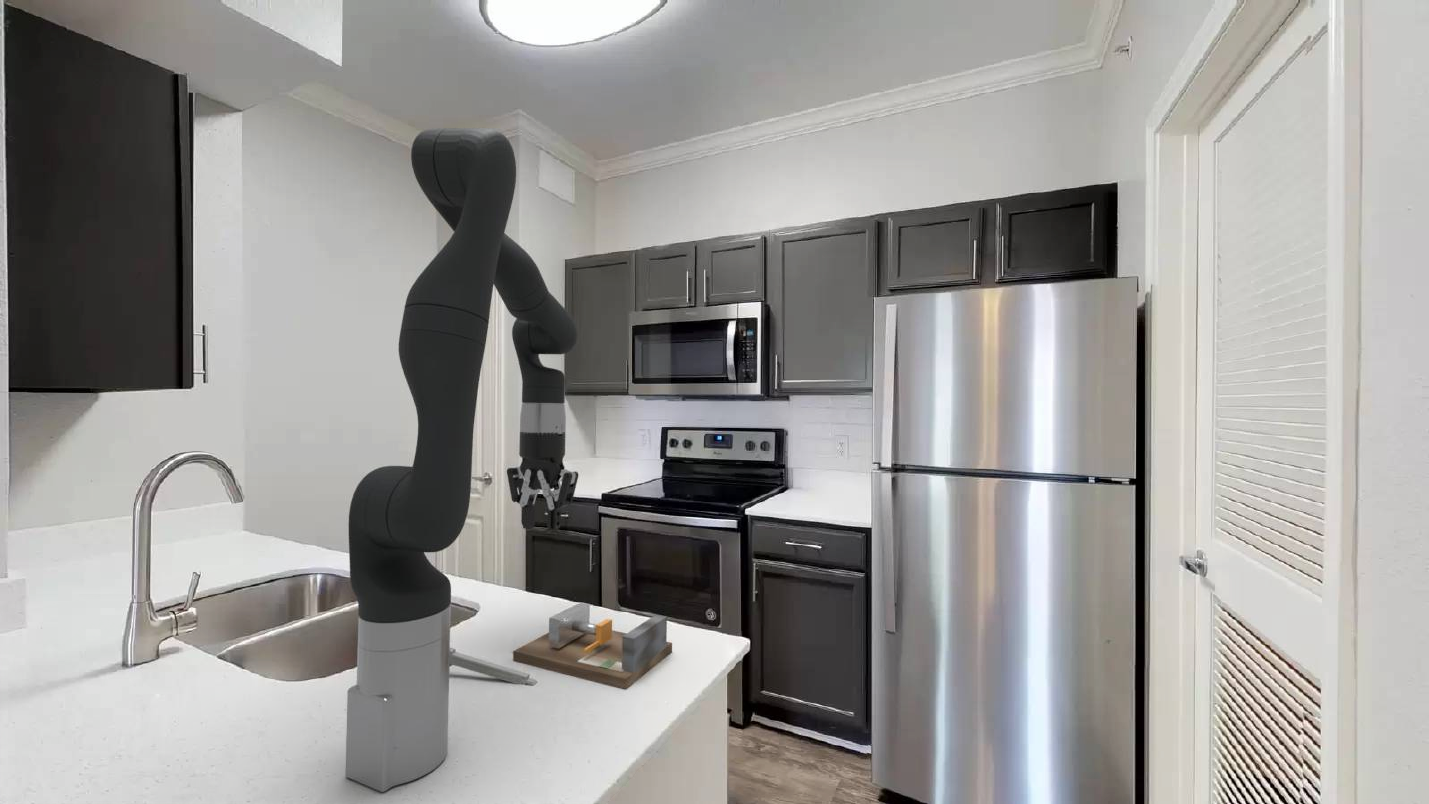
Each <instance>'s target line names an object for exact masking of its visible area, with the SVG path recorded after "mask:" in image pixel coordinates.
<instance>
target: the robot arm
mask: <svg viewBox="0 0 1429 804" xmlns="http://www.w3.org/2000/svg"><path fill="white" fill-rule="evenodd" d="M411 145H412V146H411V152H410V154H411V155H410V159H411V167H412V171H413V175H414V177H415V179H416V182H417V183H418V185H419V187H420V190H421V191H422V192H423V193H424V196H425V197H426V198H427V200H428V201H429V202H430V203H431V205H432V206H433V208H435V210H436V211H437V212H438V214H439V215H440V216H441V217H442V219H444V221H445V222H446V223H447V224H448V226H449V227H450V229H451V230H452V231H453V233H452V235H451V237H450V238H449V240H448V241H447V242H446V244H444V246H443V247H442V248H441V249H440V251H439V252H438V253H437V254H436V255H435V256H434V258H433V259H432V260H431V261H430V262H429V264H428V265H426V267H425V268H424V269H423V271H422V272H421V273H420V274H419V276H418V277H417V278H416V280H415V281H414V283H413V284H412V286H411V287H410V289H409V291H408V294H407V297H406V301H405V304H404V309H403V314H402V320H401V325H400V331H399V338H398V356H399V357H398V358H399V361H400V365H401V369H402V371H403V375H404V377H405V380H406V383H407V386H408V388H409V391H410V393H411V397H412V400H413V402H414V403H413V404H414V407H415V411H416V415H417V438H416V439H417V440H416V447H415V453H414V457H413V458H414V459H413V463H412V466H410V465H409V466H407V465H386V466H381V467H378V468H375V469H373V470H371V471H370V472H368V473H367V474H366V475H365V476H364V477H362V479H361V480H360V481H359V483H358V484H357V485H356V488H355V490H354V491H353V495H352V497H351V501H350V505H349V506H350V507H349V512H348V550H349V553H348V554H349V579H350V580H349V581H350V585H351V589H352V592H353V594H354V596H355V598H356V601H357V604H358V613H357V614H358V618H357V619H358V620H357V621H358V623H357V626H358V628H357V650H356V651H357V654H356V655H357V659H356V662H357V663H356V684H354V685H353V686H351V687H349V688H348V690H347V696H346V697H347V698H346V702H347V703H346V734H345V735H346V736H345V737H346V739H345V741H346V742H345V777H346V778H349V779H351V780H353V781H356V782H357V783H360V784H362V785H365V786H367V787H369V788H371V789H374V790H377V791H378V792H381V793H383V792H386V791H388V790H389V789H391V788H392V787H395V786H399V785H402V784H406V783H409V782H412V781H414V780H416V779H419V778H422V777H423V776H426V775H427V774H428V773H430V772H432V771H433V770H435V769H437V767H438V766H440V765H441V763H442V762H443V761H444V760H445V758H446V757H447V754H448V745H449V743H448V741H449V740H448V738H449V737H448V735H449V701H450V700H449V696H450V695H449V694H450V667H449V659H450V648H451V619H452V618H451V615H452V614H451V613H452V612H451V611H452V603H451V601H452V584H451V582H450V580H449V577H447V576H446V575H445V574H444V573H443V572H442V571H440V570H439V569H437V568H436V567H435V566H434V565H433V564H432V563H431V562H430V560H429V559H428V557H427V556H426V554H425V553H439V552H441V551H444V550H445V549H447V548H449V547H451V545H452V544H453V543H455V541H456V540H457V538H458V537H459V536H460V534H461V533H462V530H463V528H464V526H465V523H466V521H467V516H468V513H469V510H470V509H469V508H470V501H471V491H472V467H473V449H474V448H473V447H474V445H473V444H474V428H475V420H476V419H475V417H476V409H477V401H478V395H479V394H478V392H479V384H480V377H481V371H482V366H483V360H484V354H485V351H486V345H487V338H488V331H489V324H490V314H491V313H490V312H491V305H492V297H493V291H494V287H495V290H496V291H497V293H498V295H499V297H500V298H501V300H502V302H503V303H504V305H505V307H506V310H507V311H508V312H509V314H510V315H511V316H512V317H513V318H515V320H514V323H513V325H512V329H511V337H512V341H513V346H514V349H515V353H516V357H517V359H518V360H517V361H518V365H519V371H520V374H521V380H522V381H521V383H522V384H521V387H522V388H521V410H520V413H519V414H520V416H519V447H518V448H519V451H518V452H519V453H518V455H519V457H520V458H521V463H520V465H519V466H515V467H508V468H507V469H506V476H507V481H508V486H509V492H510V496H511V497H510V498H511V501H512V502H513V503H517V504H519V506H520V508H521V515H520V516H521V520H520V521H521V525H522V528H523V529H525V530H529V529H533V528H534V527H535V526H536V505H535V503H536V498H537V496H538V494H539V493H540V491H542V495H543V497H544V498H545V500H546V503H547V507H548V509H547V513H546V514H547V516H546V517H547V520H546V522H547V523H546V531H547V532H548V533H554V532H558V531H559V529H560V528H561V525H562V509H563V508H564V507H567V506H571V505H572V504H573V500H574V495H575V492H576V487H577V484H578V479H579V473H578V471H571V470H568V469H566V468H565V465H564V462H563V461H564V460H563V459H564V457H565V455H566V432H567V431H566V430H567V429H566V428H567V426H566V425H567V422H566V421H567V419H566V418H567V417H566V406H565V401H566V400H565V396H566V395H565V394H566V393H565V391H566V379H565V374H564V372H563V371H561V370H560V369H557V368H553V367H547V366H545V365H543V364H542V362H541V360H540V355H565V354H567V353H570V352H571V351H572V350H573V349H574V348H575V346H576V344H577V343H578V342H577V341H578V330H577V326H576V324H575V321H574V320H573V317H572V316H571V314H570V313H569V312H568V311H567V310H566V308H564V306H563V305H562V304H561V303H560V302H559V301H558V300H557V298H555V297H554V295H552V293H550V291H549V289H548V287H547V285H546V282H545V280H544V278H543V276H542V274H541V270H540V269H539V267H538V266H537V264H536V261H534V260H533V258H532V256H530V254H529V253H528V252H527V251H526V249H524V248H522V246H521V245H520V244H518V243H517V242H516V241H514V239H512V238H511V237H510V236H509V235H507V234H506V233H505V231H506V229H507V228H506V227H507V223H508V220H509V216H510V213H511V208H512V205H513V200H514V196H515V192H516V191H515V189H516V183H517V162H516V158H515V151H514V149H513V146H512V144H511V142H510V140H509V138H507V136H505V134H504V133H502V132H500V131H498V130H496V129H494V128H493V129H491V128H485V127H466V128H465V127H463V128H461V127H460V128H456V127H455V128H431V129H426V130H423V131H421V132H419V133H418V134H417V136H416V137H415V139H414V140H413V142H412V144H411Z"/></svg>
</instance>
